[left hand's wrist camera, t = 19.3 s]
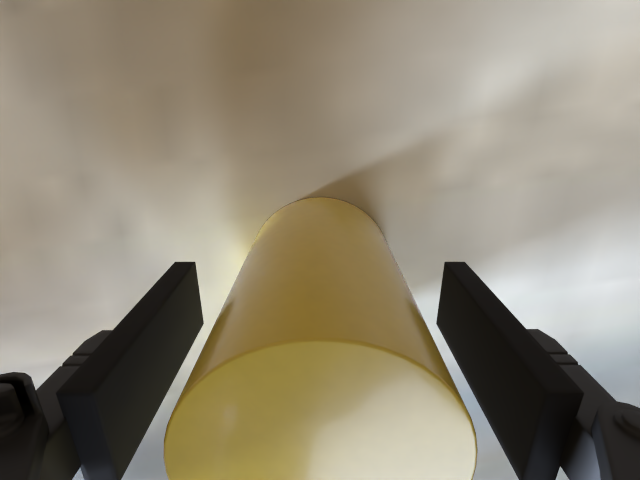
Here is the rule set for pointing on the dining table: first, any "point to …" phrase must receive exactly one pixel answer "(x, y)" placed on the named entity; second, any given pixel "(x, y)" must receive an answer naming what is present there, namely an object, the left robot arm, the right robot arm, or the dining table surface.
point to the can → (320, 366)
